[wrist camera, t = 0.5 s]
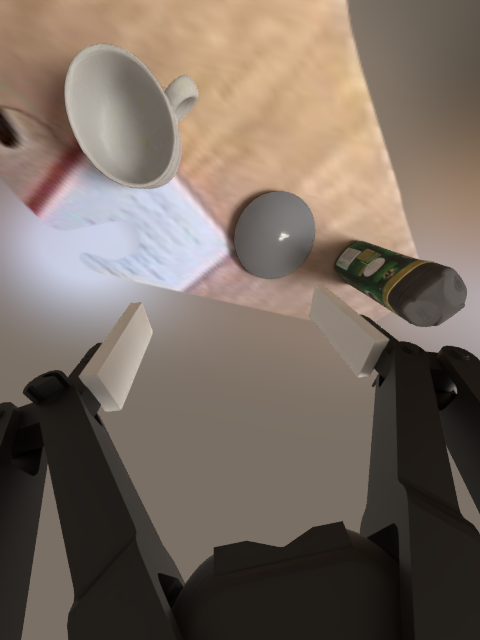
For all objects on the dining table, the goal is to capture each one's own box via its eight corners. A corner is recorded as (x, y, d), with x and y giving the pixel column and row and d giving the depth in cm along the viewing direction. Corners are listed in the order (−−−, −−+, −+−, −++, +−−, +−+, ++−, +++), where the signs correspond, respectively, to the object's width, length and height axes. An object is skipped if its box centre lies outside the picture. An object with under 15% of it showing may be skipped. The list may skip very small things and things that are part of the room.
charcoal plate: (219, 220, 33) (219, 221, 31) (298, 172, 30) (302, 171, 29) (254, 288, 41) (255, 291, 39) (319, 254, 38) (322, 256, 37)
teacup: (130, 198, 30) (107, 199, 23) (81, 98, 24) (29, 60, 17) (216, 171, 29) (217, 164, 22) (188, 61, 23) (178, 8, 16)
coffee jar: (383, 260, 41) (487, 300, 25) (353, 289, 44) (429, 340, 28) (358, 232, 37) (463, 259, 21) (326, 266, 40) (399, 311, 24)
